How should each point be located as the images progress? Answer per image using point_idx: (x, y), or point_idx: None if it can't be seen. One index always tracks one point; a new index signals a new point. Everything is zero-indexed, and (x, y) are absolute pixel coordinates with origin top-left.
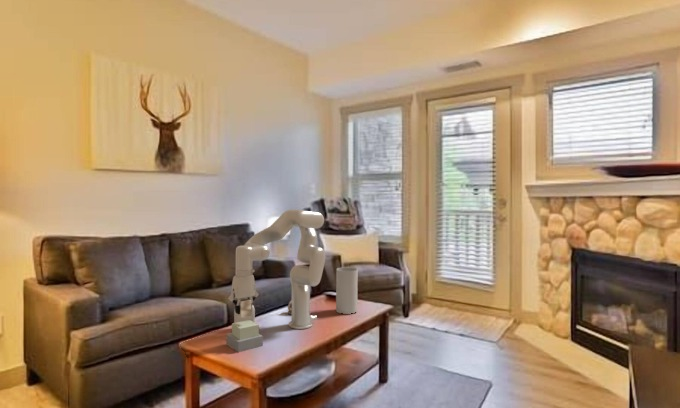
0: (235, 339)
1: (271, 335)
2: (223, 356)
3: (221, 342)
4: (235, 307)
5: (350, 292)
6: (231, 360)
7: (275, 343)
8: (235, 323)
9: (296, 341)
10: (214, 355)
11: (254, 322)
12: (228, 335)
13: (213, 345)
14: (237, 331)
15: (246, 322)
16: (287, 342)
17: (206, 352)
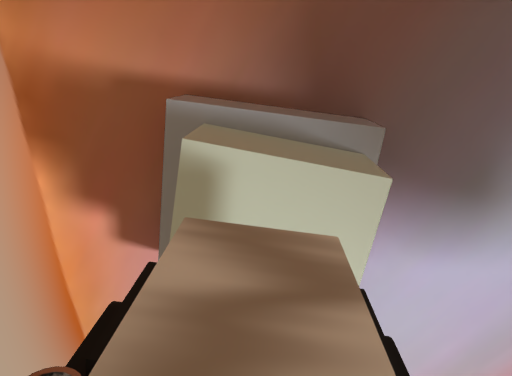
0: (164, 239)
1: (506, 174)
2: (84, 243)
3: (178, 31)
4: (80, 358)
5: None
6: (95, 310)
7: (407, 296)
8: (208, 167)
9: (506, 352)
10: (50, 198)
11: (361, 275)
12: (168, 128)
13: (109, 44)
14: None
15: (308, 221)
16: (463, 330)
17: (27, 124)
